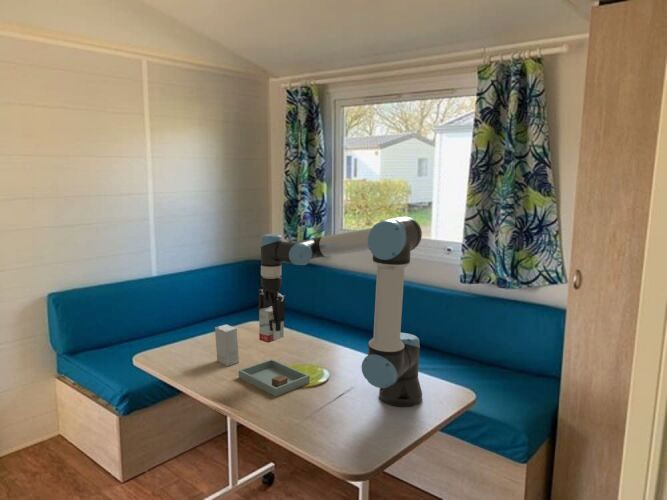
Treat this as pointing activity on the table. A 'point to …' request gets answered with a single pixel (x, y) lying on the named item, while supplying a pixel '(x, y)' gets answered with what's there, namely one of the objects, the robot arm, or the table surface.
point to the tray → (269, 369)
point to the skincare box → (227, 345)
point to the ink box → (268, 325)
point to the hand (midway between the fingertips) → (271, 336)
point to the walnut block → (279, 381)
